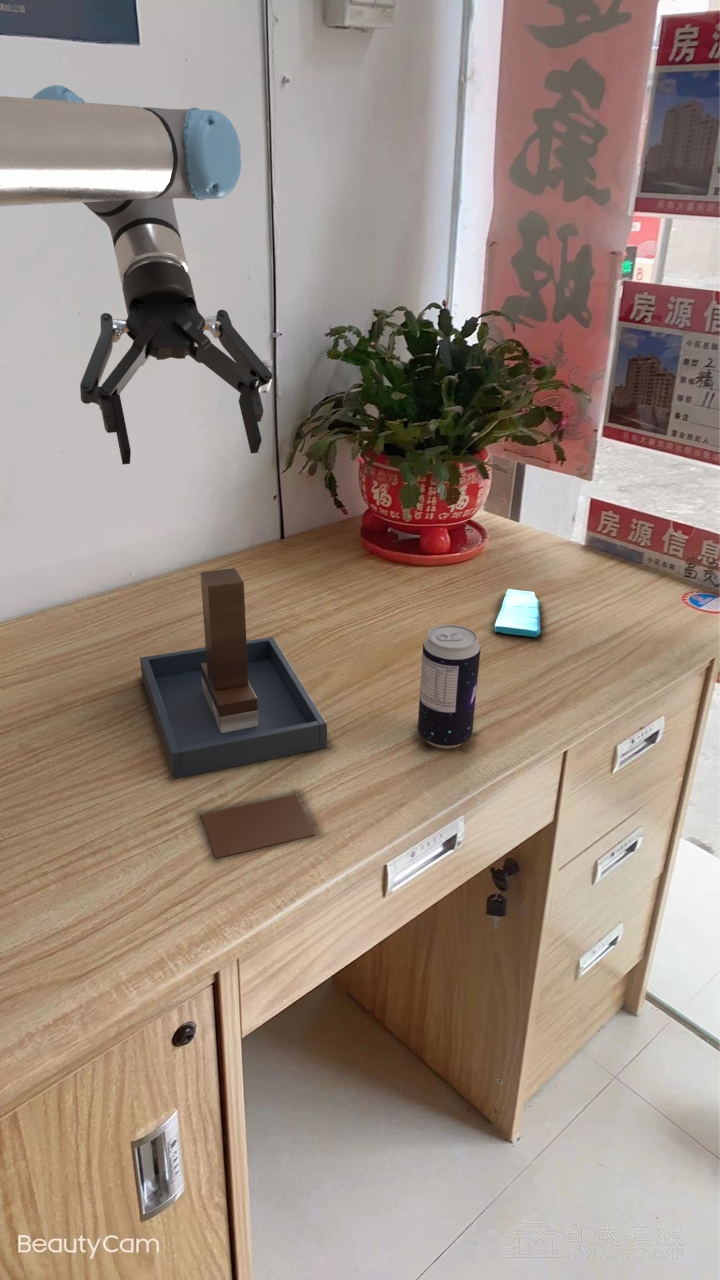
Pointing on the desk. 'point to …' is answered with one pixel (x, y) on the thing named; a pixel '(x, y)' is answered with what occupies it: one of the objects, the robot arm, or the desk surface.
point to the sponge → (519, 614)
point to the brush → (226, 652)
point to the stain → (256, 825)
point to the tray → (192, 726)
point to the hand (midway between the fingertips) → (193, 452)
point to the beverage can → (448, 685)
